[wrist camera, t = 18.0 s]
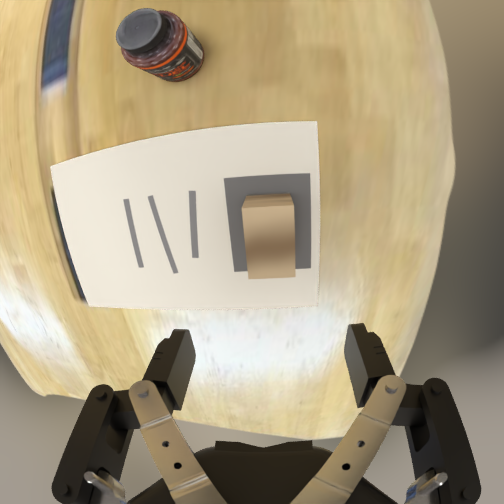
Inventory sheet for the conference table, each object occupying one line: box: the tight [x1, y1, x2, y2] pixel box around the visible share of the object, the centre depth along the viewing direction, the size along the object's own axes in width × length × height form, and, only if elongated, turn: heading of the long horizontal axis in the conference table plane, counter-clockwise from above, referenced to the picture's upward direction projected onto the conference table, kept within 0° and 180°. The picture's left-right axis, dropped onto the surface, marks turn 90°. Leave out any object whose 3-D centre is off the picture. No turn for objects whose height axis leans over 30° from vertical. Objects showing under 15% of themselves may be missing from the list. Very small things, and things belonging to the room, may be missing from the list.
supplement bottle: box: [116, 8, 204, 82], centre depth 19 cm, size 6×6×11 cm
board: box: [50, 121, 320, 310], centre depth 31 cm, size 22×34×2 cm, turn 94°
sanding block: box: [242, 192, 296, 279], centre depth 27 cm, size 7×4×6 cm, turn 4°
